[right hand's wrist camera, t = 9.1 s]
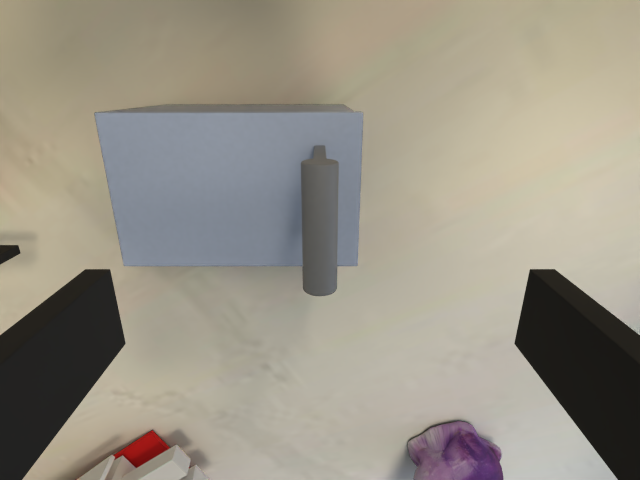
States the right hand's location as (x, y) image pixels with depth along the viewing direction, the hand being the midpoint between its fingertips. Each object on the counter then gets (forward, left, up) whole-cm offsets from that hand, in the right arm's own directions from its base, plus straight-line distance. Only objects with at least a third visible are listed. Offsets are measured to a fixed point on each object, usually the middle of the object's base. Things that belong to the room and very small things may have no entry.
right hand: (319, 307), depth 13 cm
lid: (+2, -5, -15) cm, 16 cm away
